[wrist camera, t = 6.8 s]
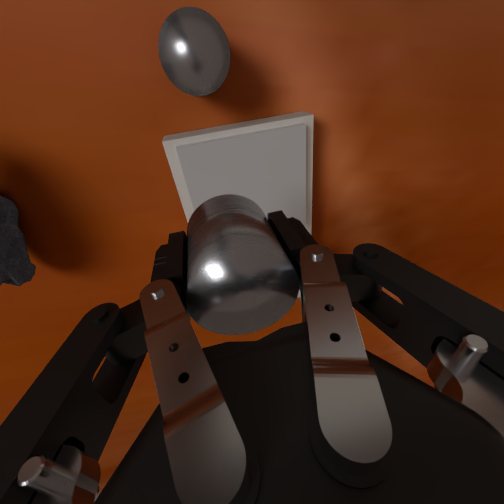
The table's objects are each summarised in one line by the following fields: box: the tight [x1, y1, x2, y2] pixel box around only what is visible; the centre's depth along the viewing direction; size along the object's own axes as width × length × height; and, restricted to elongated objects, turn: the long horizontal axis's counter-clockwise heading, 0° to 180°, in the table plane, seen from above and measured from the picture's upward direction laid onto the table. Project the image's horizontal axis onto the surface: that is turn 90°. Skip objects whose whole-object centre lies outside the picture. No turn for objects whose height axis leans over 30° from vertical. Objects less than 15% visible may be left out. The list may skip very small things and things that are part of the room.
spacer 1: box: [159, 7, 230, 96], centre depth 18 cm, size 4×4×5 cm
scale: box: [162, 111, 314, 297], centre depth 25 cm, size 17×13×7 cm
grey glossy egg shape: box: [186, 194, 299, 335], centre depth 12 cm, size 4×4×5 cm
